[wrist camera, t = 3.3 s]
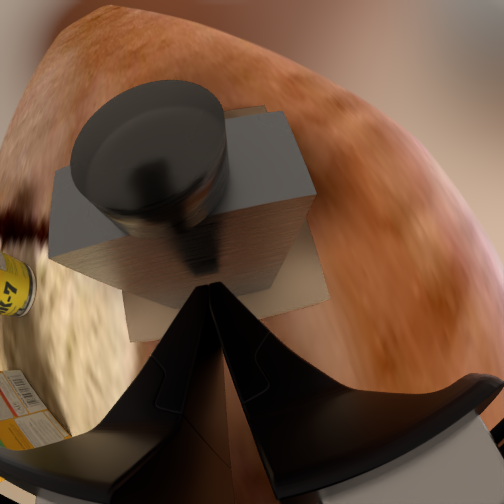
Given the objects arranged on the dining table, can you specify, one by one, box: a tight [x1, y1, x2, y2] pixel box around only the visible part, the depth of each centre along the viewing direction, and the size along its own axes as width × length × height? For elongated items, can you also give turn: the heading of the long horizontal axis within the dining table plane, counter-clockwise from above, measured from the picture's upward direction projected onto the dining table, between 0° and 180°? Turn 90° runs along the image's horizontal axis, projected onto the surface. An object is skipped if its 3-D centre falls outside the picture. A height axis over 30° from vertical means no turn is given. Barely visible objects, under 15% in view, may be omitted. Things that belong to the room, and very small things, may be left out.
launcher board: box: [122, 105, 330, 342], centre depth 17 cm, size 14×11×3 cm
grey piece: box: [48, 80, 317, 309], centre depth 9 cm, size 2×5×11 cm, turn 103°
